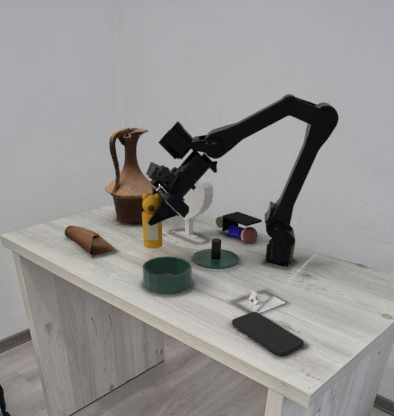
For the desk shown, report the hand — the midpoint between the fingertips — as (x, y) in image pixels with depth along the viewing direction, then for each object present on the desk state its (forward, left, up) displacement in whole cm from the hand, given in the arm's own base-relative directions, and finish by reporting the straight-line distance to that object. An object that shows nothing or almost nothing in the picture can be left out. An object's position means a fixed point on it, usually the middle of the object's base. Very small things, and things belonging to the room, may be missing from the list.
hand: (146, 221), depth 118 cm
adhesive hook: (-35, +4, -11) cm, 37 cm away
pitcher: (+24, -25, -11) cm, 36 cm away
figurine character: (-12, -30, -11) cm, 34 cm away
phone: (-42, +16, -11) cm, 46 cm away
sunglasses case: (+21, -1, -11) cm, 24 cm away
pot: (-12, +8, -11) cm, 18 cm away
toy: (-1, -1, -7) cm, 7 cm away
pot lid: (-15, -11, -11) cm, 21 cm away
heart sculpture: (+1, -23, -11) cm, 25 cm away
